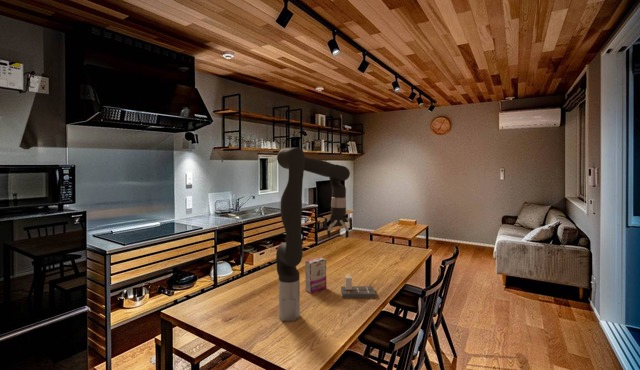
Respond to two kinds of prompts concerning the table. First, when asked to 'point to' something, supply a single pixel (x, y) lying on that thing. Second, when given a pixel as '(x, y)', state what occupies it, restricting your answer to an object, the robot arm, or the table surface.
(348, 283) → the fader knob
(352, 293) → the fader console
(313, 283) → the candy bar box
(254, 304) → the table surface
